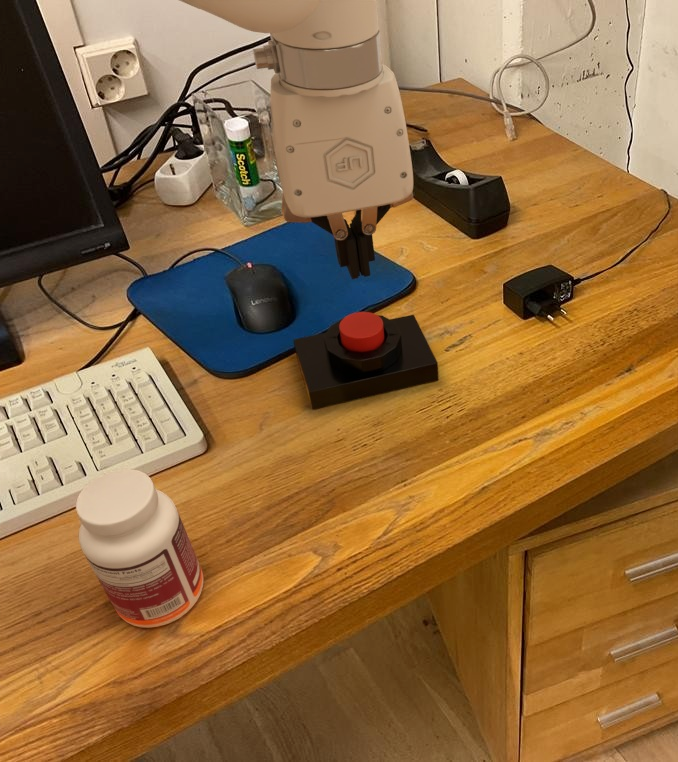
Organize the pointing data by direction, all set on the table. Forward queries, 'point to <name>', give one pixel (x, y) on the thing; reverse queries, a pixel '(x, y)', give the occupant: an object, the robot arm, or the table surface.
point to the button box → (364, 363)
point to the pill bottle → (138, 548)
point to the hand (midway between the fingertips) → (357, 268)
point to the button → (361, 331)
